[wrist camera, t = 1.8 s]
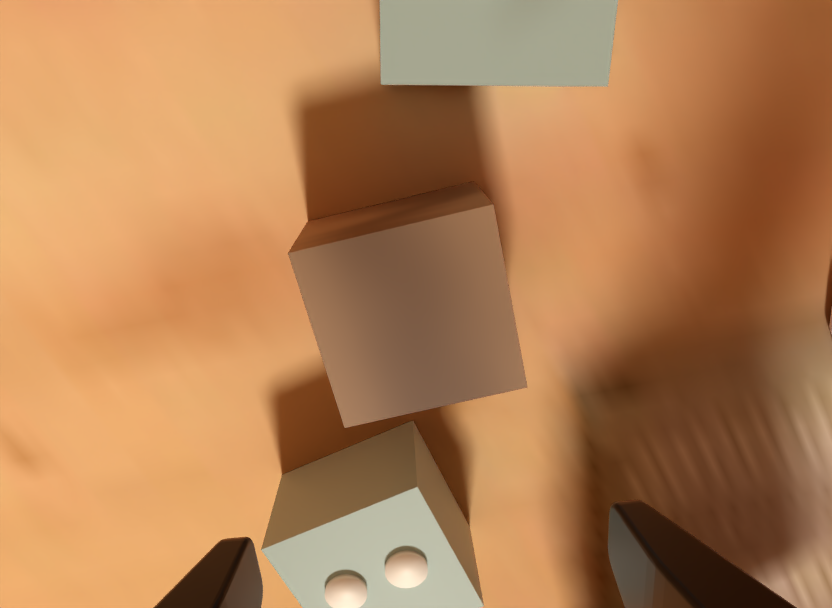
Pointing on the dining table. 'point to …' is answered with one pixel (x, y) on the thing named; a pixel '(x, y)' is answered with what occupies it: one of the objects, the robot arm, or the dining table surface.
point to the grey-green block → (496, 42)
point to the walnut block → (410, 304)
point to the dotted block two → (373, 530)
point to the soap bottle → (831, 322)
